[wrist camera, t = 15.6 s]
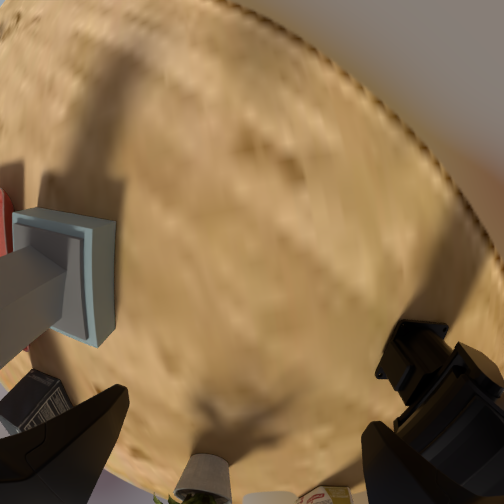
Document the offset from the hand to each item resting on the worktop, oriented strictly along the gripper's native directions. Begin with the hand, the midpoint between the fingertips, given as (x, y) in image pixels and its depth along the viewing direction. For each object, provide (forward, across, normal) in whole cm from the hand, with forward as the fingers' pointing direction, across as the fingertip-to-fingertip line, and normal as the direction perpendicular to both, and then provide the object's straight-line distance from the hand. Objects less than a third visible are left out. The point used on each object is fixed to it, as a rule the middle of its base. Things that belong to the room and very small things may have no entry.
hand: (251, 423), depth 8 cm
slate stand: (+13, +17, +2) cm, 21 cm away
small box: (+13, +24, +24) cm, 36 cm away
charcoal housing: (+9, +17, +2) cm, 19 cm away
